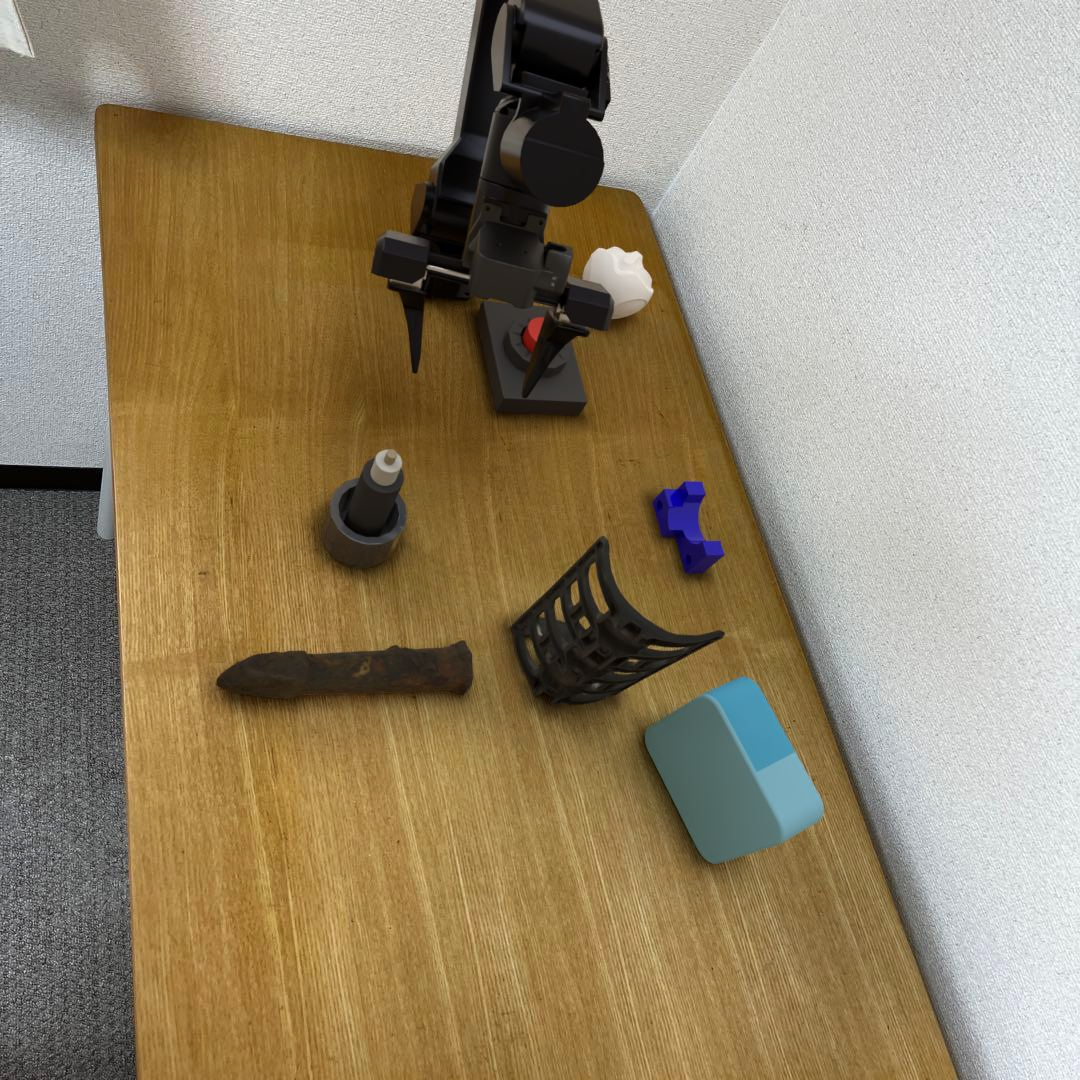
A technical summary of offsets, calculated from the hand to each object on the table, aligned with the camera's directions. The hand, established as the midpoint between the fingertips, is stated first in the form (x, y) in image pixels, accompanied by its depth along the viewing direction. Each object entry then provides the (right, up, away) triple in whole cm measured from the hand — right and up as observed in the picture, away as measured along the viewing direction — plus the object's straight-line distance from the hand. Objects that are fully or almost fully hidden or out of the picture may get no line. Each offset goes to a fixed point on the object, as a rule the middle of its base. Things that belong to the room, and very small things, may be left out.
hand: (469, 384), depth 74 cm
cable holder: (+19, -13, +15) cm, 27 cm away
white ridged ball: (+13, +13, +26) cm, 32 cm away
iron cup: (-10, -12, +2) cm, 16 cm away
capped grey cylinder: (-9, -12, +2) cm, 16 cm away
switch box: (+4, +5, +18) cm, 19 cm away
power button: (+6, +7, +15) cm, 17 cm away
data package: (+19, -34, +3) cm, 39 cm away
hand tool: (-9, -24, -4) cm, 26 cm away
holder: (+7, -24, +3) cm, 26 cm away
